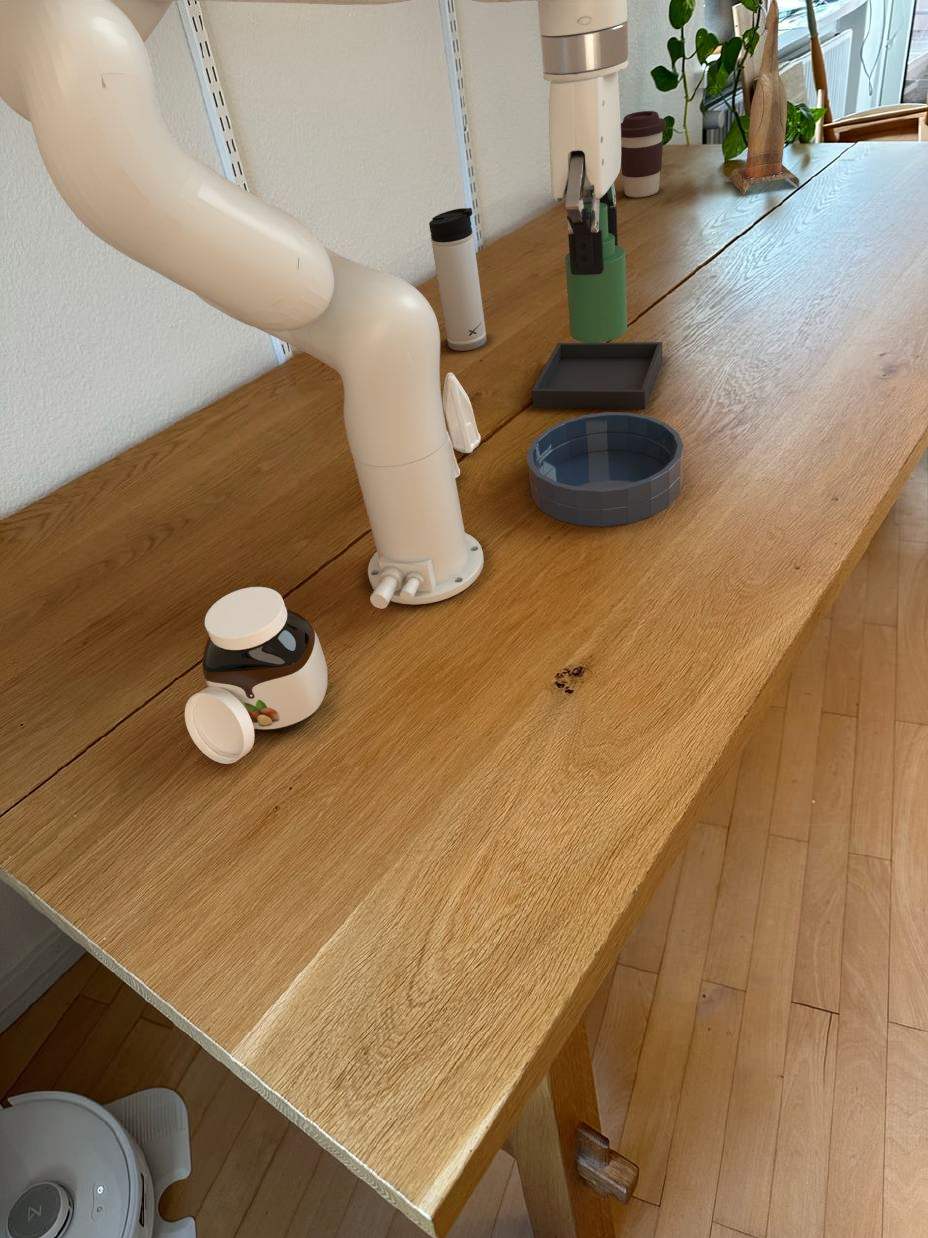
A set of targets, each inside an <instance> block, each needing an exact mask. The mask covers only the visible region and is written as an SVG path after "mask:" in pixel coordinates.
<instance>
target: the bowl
mask: <svg viewBox="0 0 928 1238" xmlns="http://www.w3.org/2000/svg"><path fill="white" fill-rule="evenodd" d="M684 452H685V446H684V443H683V440H682V437H681V434H680V433H679V432H678V431H677V430H676V429H675V428H673V427H672V426H671V425H669V423H667V422H665V421H662V420H660V419H657V418H655V417H653V416H650V415H645V414H640V413H639V414H638V413H632V412H621V411H620V412H618V411H617V412H616V411H606V412H598V413H591V414H590V413H589V414H584V415H580V416H577V417H574V418H569V419H566V420H563V421H561V422H559V423H556V424H554V425H553V426H551V427H549V428H546V429H544V431H542V432H541V433H540V434H539V435H538V436H537V437H535V438H534V440H532V442H531V444H530V446H529V447H528V449H527V452H526V458H527V469H528V470H527V471H528V479H529V486H530V495H531V496H530V497H531V500H532V501H533V503H534V504H535V505H536V506H537V508H538V509H539V510H540V511H541V512H542V513H544V514H546V515H548V516H549V517H551V518H552V519H554V520H556V521H560V522H563V523H567V524H571V525H575V526H582V527H596V528H597V527H598V528H604V527H605V528H607V527H613V526H614V527H615V526H622V525H628V524H633V523H635V522H639V521H642V520H645V519H648V518H651V517H653V516H655V515H656V514H658V513H659V512H662V511H664V510H665V509H667V508H668V507H670V506H671V505H672V504H673V502H674V501H675V500H676V499H677V498H678V497H679V495H680V494H681V491H682V487H683V483H684V457H685V455H684V454H685V453H684Z"/></svg>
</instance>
